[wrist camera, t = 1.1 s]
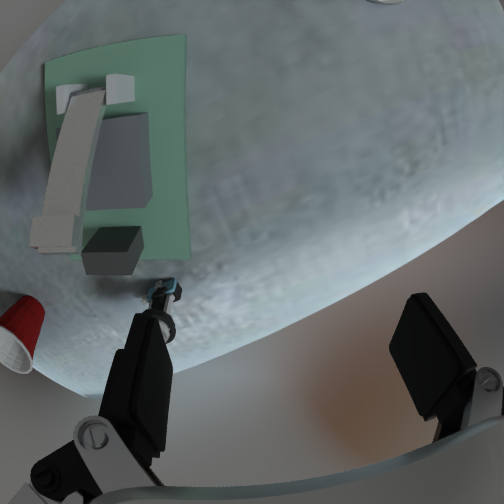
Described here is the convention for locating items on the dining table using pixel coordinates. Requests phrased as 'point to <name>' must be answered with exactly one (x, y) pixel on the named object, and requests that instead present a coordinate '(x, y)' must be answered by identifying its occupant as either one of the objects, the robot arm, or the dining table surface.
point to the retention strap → (70, 176)
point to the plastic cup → (20, 334)
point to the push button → (163, 305)
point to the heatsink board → (164, 133)
